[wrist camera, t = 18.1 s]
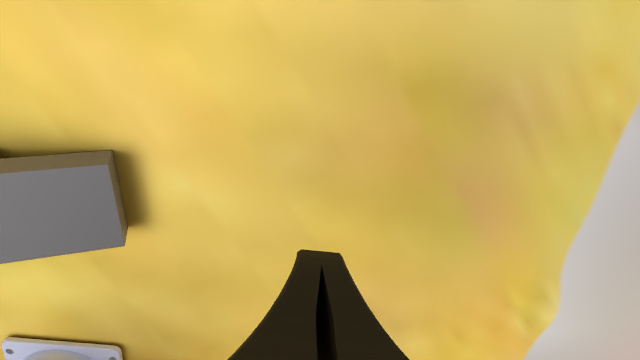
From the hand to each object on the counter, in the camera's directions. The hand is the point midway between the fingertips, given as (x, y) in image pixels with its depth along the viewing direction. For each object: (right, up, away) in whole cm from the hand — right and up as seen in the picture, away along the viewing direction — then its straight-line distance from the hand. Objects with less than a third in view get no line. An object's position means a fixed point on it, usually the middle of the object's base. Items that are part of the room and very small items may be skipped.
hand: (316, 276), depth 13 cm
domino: (-11, +2, +9) cm, 15 cm away
